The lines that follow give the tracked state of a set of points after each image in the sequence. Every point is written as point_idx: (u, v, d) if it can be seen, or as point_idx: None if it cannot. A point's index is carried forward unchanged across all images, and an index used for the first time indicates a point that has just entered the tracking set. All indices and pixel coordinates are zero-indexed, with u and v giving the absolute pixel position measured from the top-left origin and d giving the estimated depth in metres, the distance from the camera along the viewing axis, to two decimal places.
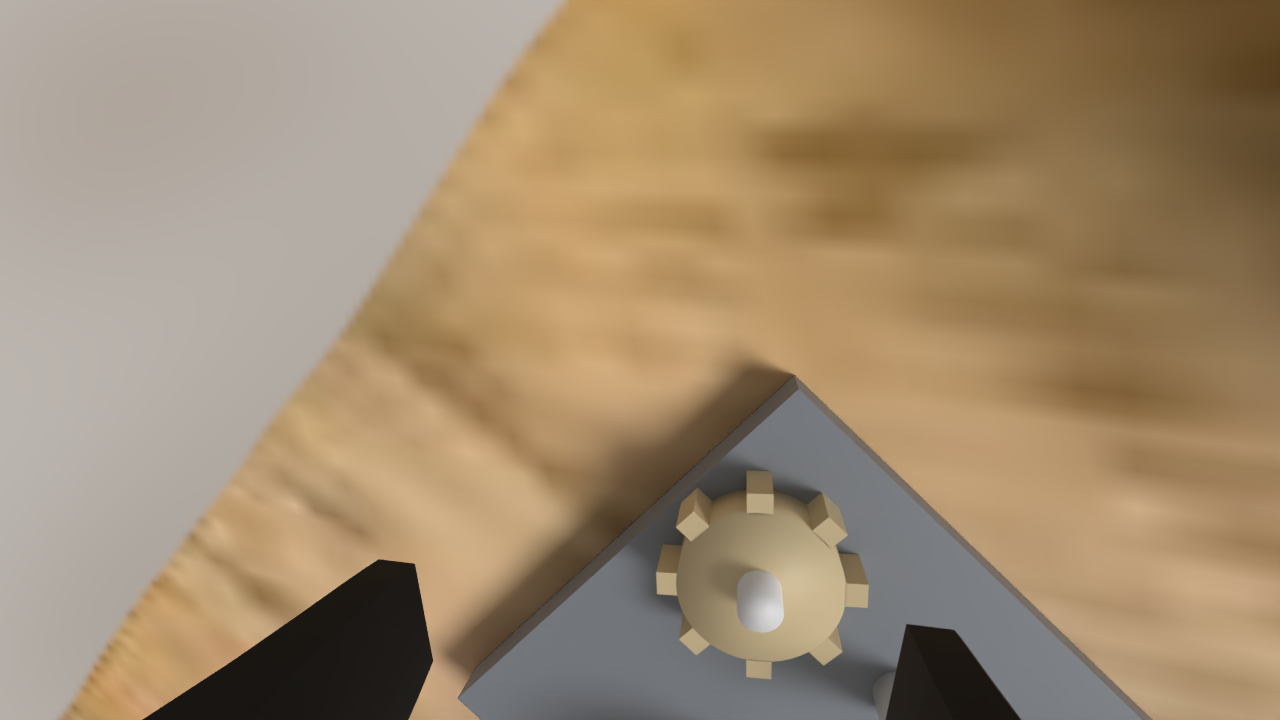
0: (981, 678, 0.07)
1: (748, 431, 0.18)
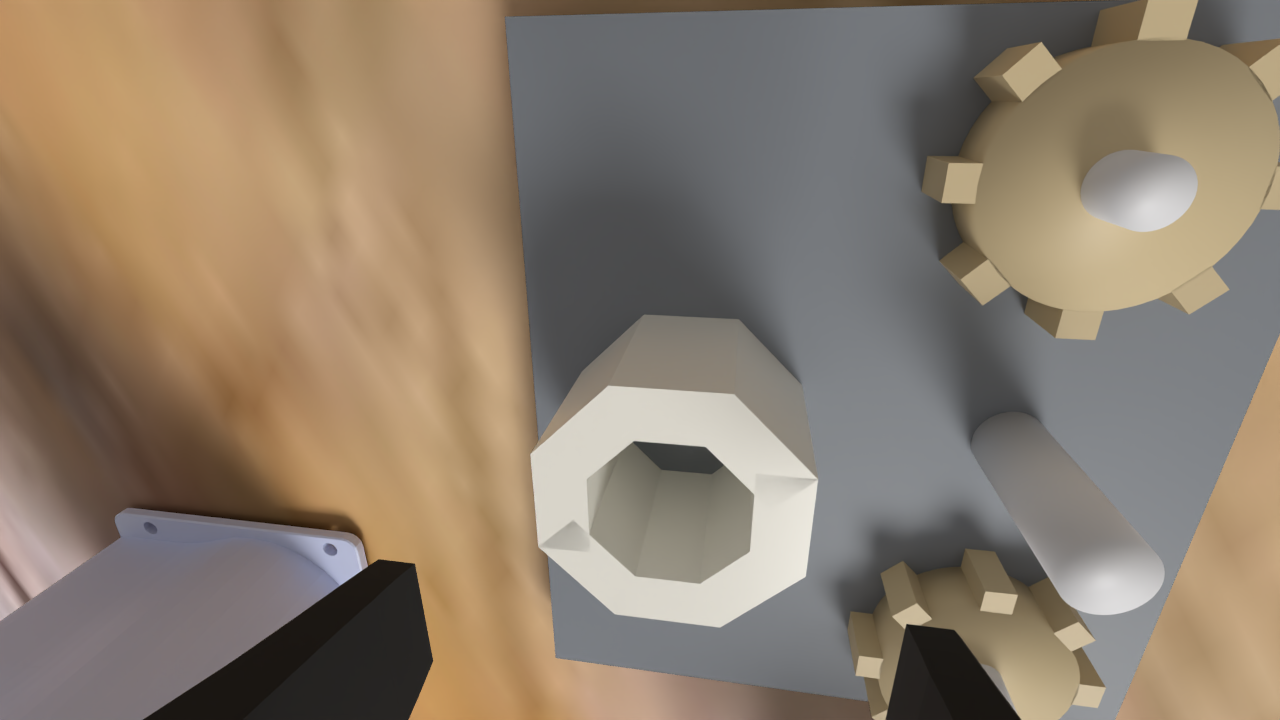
0: (981, 678, 0.07)
1: None
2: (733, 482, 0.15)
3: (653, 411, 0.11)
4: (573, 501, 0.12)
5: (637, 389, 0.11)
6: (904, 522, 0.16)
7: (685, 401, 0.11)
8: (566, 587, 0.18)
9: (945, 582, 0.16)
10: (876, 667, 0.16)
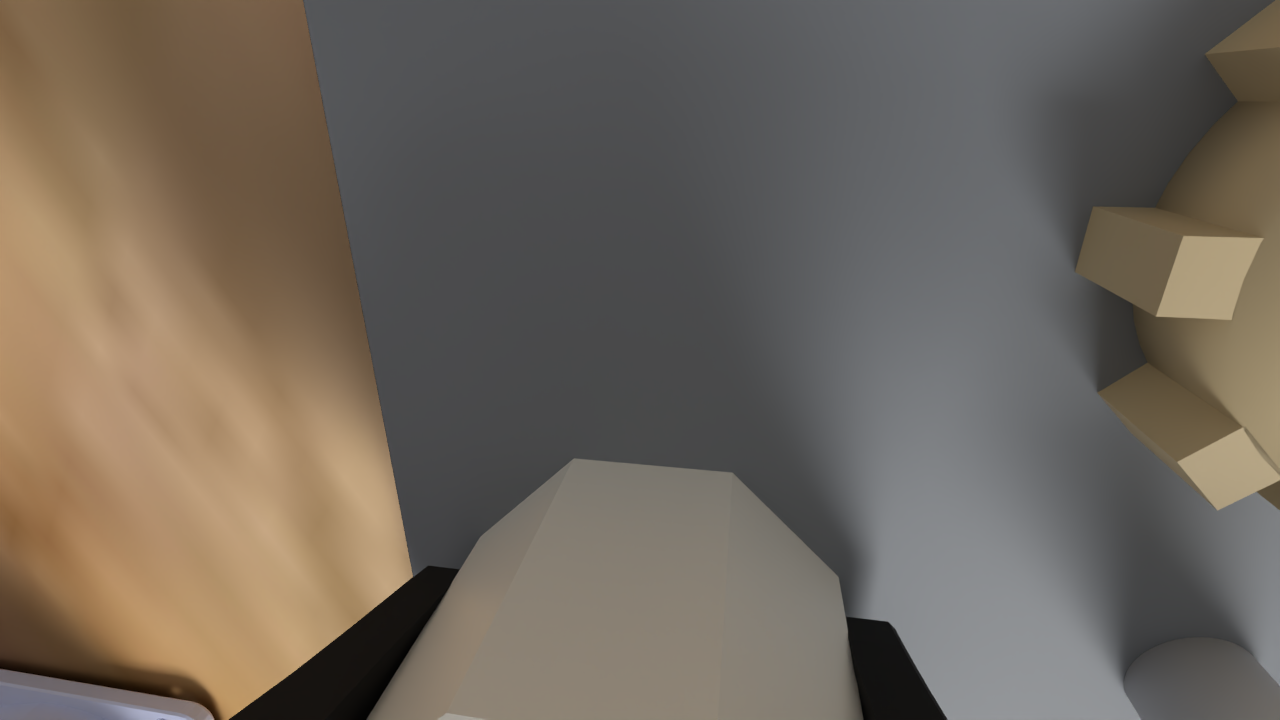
0: (905, 667, 0.07)
1: None
2: None
3: None
4: None
5: None
6: None
7: None
8: None
9: None
10: None
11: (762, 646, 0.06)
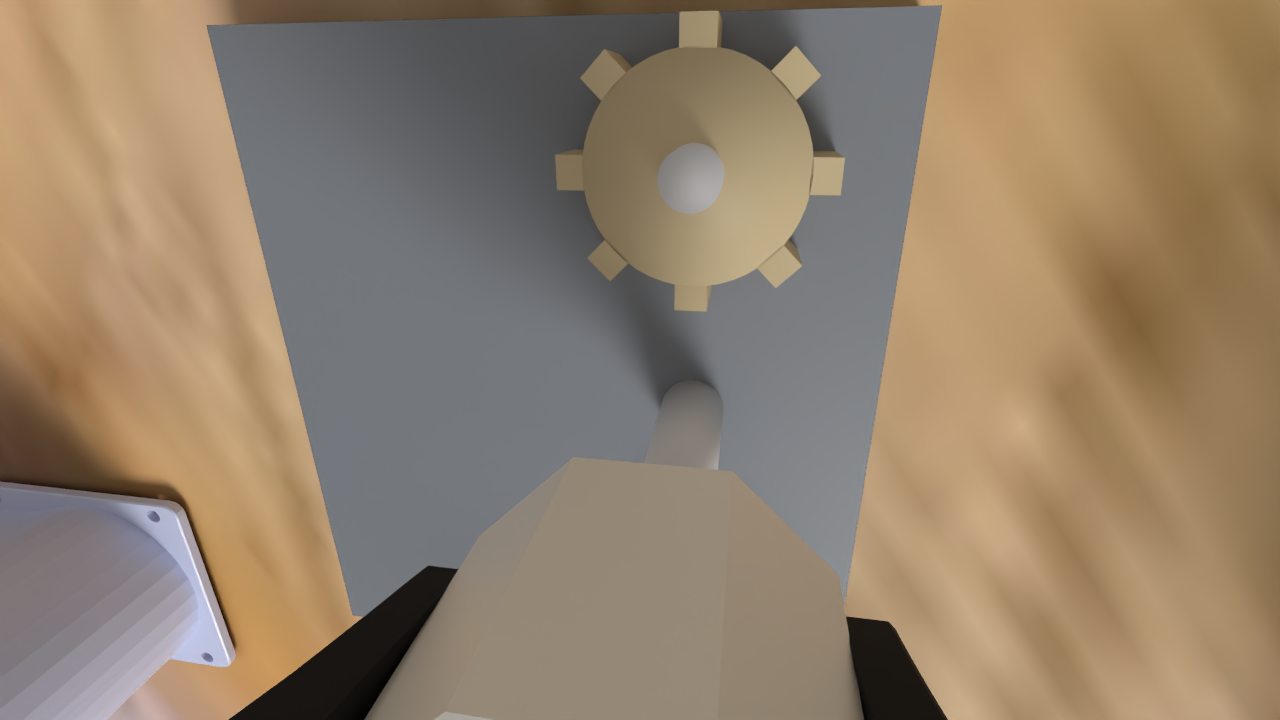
0: (906, 668, 0.07)
1: None
2: None
3: None
4: None
5: None
6: None
7: None
8: (349, 548, 0.20)
9: None
10: None
11: (762, 644, 0.06)
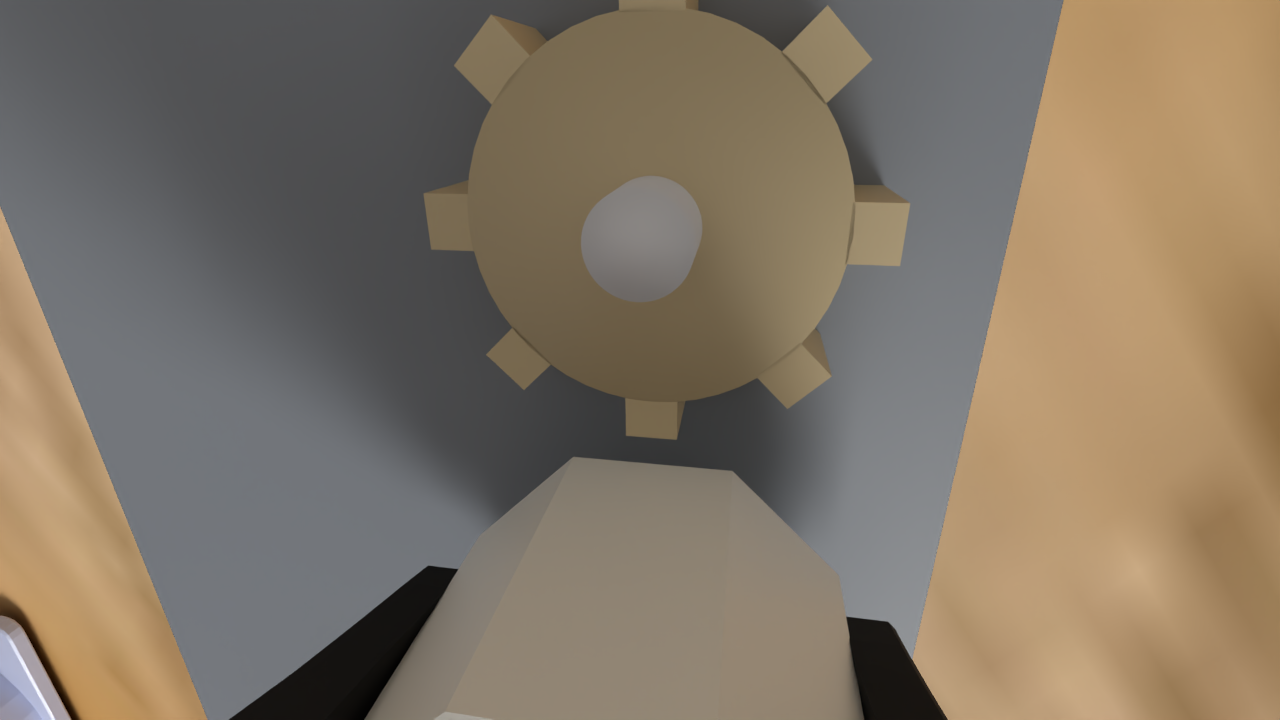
0: (905, 668, 0.07)
1: None
2: None
3: None
4: None
5: None
6: None
7: None
8: (215, 697, 0.15)
9: None
10: None
11: (762, 645, 0.06)
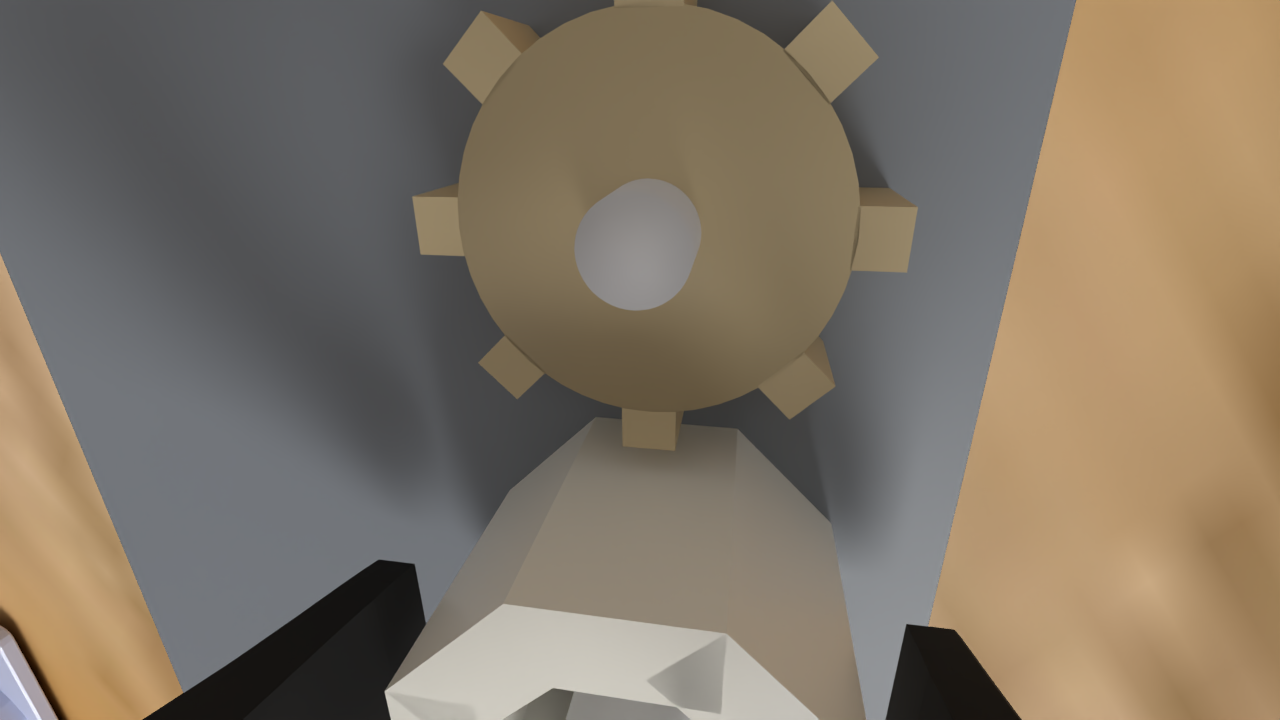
0: (981, 677, 0.07)
1: None
2: None
3: (583, 649, 0.06)
4: None
5: (553, 614, 0.06)
6: None
7: (640, 637, 0.06)
8: None
9: None
10: None
11: (764, 564, 0.07)
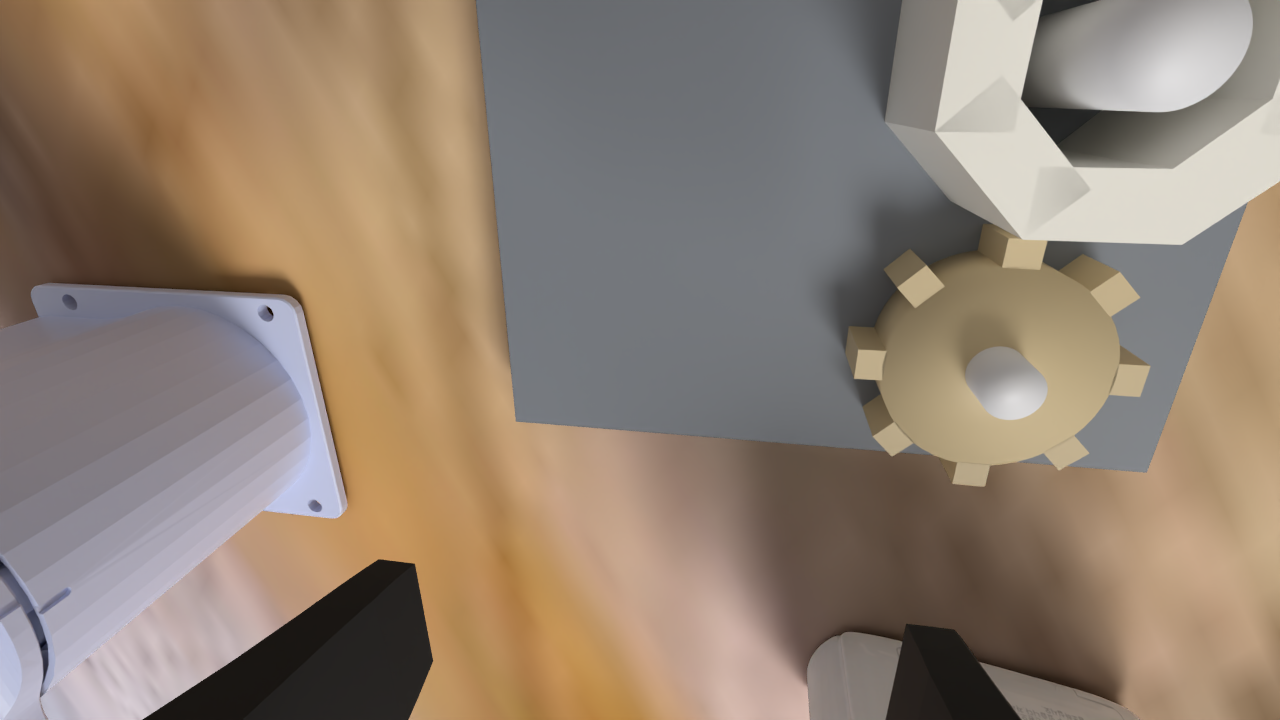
0: (981, 678, 0.07)
1: None
2: (1121, 120, 0.11)
3: None
4: (1011, 39, 0.09)
5: None
6: (911, 193, 0.13)
7: None
8: (524, 323, 0.16)
9: (959, 261, 0.13)
10: (878, 364, 0.13)
11: None
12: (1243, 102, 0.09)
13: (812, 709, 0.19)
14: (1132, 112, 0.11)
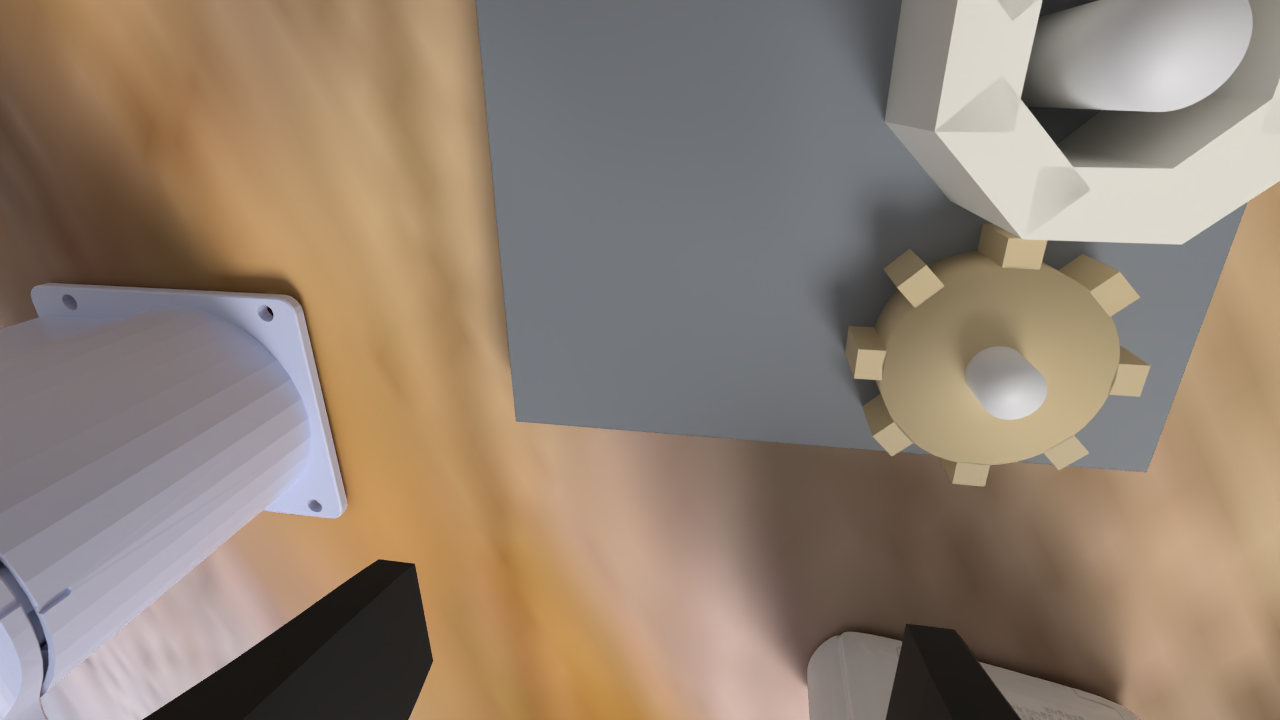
0: (981, 677, 0.07)
1: None
2: (1121, 120, 0.11)
3: None
4: (1011, 39, 0.09)
5: None
6: (911, 193, 0.13)
7: None
8: (524, 323, 0.16)
9: (959, 260, 0.13)
10: (878, 364, 0.13)
11: None
12: (1243, 102, 0.09)
13: (812, 709, 0.19)
14: (1132, 112, 0.11)
